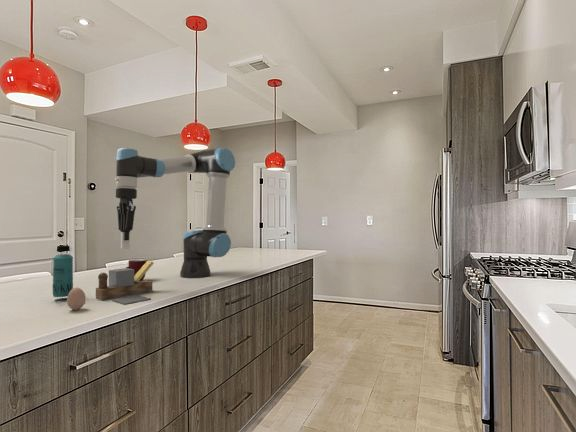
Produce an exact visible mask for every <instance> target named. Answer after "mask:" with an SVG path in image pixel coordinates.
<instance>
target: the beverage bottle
mask: <svg viewBox="0 0 576 432" xmlns="http://www.w3.org/2000/svg"><path fill="white" fill-rule="evenodd" d="M70 251H71V248H70V245H65V244H63V245H58V246H56V252H58V253H59V252H61V254H55V256H54V257H53V258H52V260H53V261H52V263H53V265H52V266H53V269H52V295H53V297H54V298H64V297H67V296H68V294H69V292H70V291H71V290H72V289H73V288H74V258H73V255H71V254H69V253H67V254H66V253H65V254H64V253H63V254H62V252H70Z"/></svg>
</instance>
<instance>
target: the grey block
mask: <svg viewBox="0 0 576 432" xmlns="http://www.w3.org/2000/svg"><path fill="white" fill-rule="evenodd" d="M130 285H134V269H129V268H126V267H124V268H115V269H109V270H108V286H112V287H116V288H118V287H124V286H130Z"/></svg>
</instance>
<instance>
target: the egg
mask: <svg viewBox="0 0 576 432" xmlns="http://www.w3.org/2000/svg"><path fill="white" fill-rule="evenodd" d="M66 297H67V298H66V304H67V306H68V308H69V309H71V310H72V311H78V310H80V309H82V308H83V307H84V305H85V303H86V299H87V298H86V294H85V292H84V291H83V289H82V288H80V287H73V289H72V290H71V291H70V292H69V294H68V296H66Z"/></svg>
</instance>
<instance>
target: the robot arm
mask: <svg viewBox="0 0 576 432" xmlns="http://www.w3.org/2000/svg"><path fill="white" fill-rule="evenodd" d="M115 161H116V168H115V169H116V175H115V176H116V177H115V179H114V181H115V187H116V189H115V198H116V199H119V204H118V206H116V212H117V224H118V227H117V228H118V230H119V231H120V249H121V250H127V249H128V250H130V233H131V231H133V229H134V221H135V212H136V209H137V206H136V205H134V201H133V200H136V199H137V198H138V193H137V192H138V190H137V188H138V178H139V179H140V178H147V177H151V178H161V177H163V176H164V175H169V174H170V175H171V174H177V173H185V172H186V173H188V174H193V173H196V174H197V173H199V174H200V173H201V174H202V173H203V174H206V177H208V188H207V189H208V190H207V205H206V207H207V208H206V221H205V222H206V225H205V226H204V228H202V229H198V230H189V231H185V232H184V234H183V263H182V266H181V269H180V271H179V276H180V277H181V278H187V279H192V278H194V279H195V278H204V277H209V276H211V269H210V265H209V263H208V257H210V258H222V257H224V256H226V254H228V253H229V251H230V249H231V245H232V240H231V238H230V236H229V234H227V232H228V231H227V229H226V228H225V213H226V212H225V211H226V209H225V207H226V195H227V194H226V193H227V180H228V178H230V175H231V171H232V170H234V168H235V167H236V159H235V155H234V154H233V152H232V151H231V150H230V149H229V148H227V147H216V148H212V149H206V150H205V149H204V150H200V151H197V152H193V153H187V154H185V155H184V156H174V157H173V156H172V157H162V158H152V157H145V156H141V155H139V151H138V150H137V149H135V148H130V147H120V148H119V149H117V152H116V159H115Z"/></svg>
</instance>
